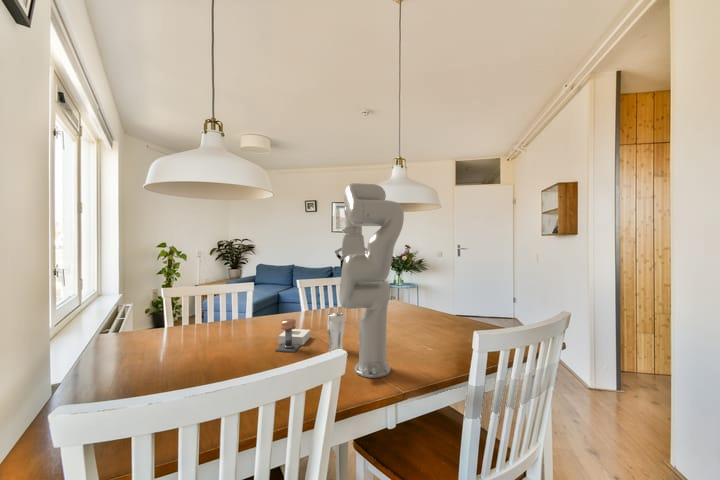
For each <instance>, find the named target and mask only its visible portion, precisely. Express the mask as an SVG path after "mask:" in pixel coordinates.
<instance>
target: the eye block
mask: <svg viewBox="0 0 720 480" xmlns="http://www.w3.org/2000/svg"><path fill="white" fill-rule="evenodd" d="M310 338H311V329H302V328H299V329H298V328H297V329H296V328H295V329H292V344H300V345H301V346H304V345H305V343H307V341H308V340H310ZM277 343H278V345H282V344H285V330H283V332H282V333H280V334H279V335H278V341H277Z"/></svg>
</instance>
